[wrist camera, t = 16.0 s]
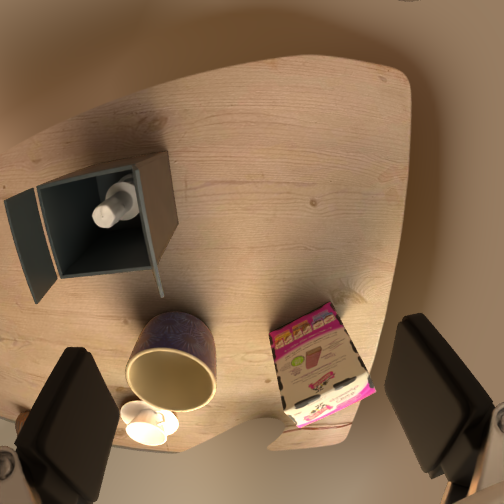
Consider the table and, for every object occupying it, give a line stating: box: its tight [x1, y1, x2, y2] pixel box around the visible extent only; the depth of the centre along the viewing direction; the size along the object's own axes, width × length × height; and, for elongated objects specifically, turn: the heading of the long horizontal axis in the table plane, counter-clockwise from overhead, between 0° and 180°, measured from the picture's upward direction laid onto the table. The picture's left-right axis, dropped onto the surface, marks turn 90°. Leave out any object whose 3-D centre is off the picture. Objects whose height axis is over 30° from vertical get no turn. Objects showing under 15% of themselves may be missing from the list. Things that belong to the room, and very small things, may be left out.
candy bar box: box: [269, 302, 376, 428], centre depth 42 cm, size 11×5×16 cm, turn 119°
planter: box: [125, 311, 217, 412], centre depth 44 cm, size 12×12×11 cm
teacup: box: [120, 400, 178, 445], centre depth 54 cm, size 12×12×5 cm
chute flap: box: [132, 165, 164, 298], centre depth 24 cm, size 5×10×1 cm
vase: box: [15, 411, 30, 437], centre depth 53 cm, size 7×7×9 cm
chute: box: [4, 151, 179, 304], centre depth 31 cm, size 12×10×20 cm
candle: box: [92, 173, 139, 228], centre depth 34 cm, size 5×5×12 cm
